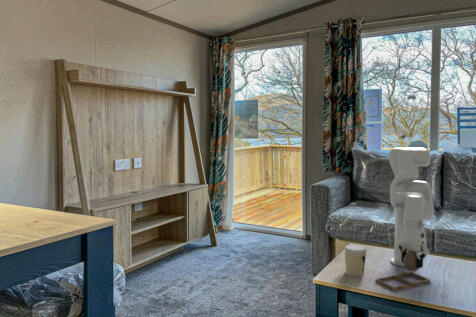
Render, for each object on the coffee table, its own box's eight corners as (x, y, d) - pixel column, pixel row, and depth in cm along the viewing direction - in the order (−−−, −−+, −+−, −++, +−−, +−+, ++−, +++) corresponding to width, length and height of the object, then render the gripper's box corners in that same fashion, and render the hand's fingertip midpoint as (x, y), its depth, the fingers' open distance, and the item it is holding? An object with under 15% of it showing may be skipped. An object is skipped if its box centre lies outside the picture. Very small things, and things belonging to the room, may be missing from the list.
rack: (405, 272, 175) (405, 269, 175) (430, 283, 164) (430, 279, 163) (370, 280, 166) (370, 276, 166) (394, 291, 155) (394, 288, 155)
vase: (419, 273, 160) (420, 253, 160) (401, 270, 164) (402, 250, 164) (421, 268, 166) (422, 248, 166) (404, 265, 170) (405, 246, 169)
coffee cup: (366, 278, 169) (367, 251, 168) (344, 276, 171) (345, 249, 170) (364, 270, 178) (364, 244, 177) (343, 268, 180) (343, 243, 179)
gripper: (437, 227, 158) (435, 270, 159) (403, 218, 173) (401, 257, 175) (424, 229, 155) (423, 272, 156) (390, 220, 170) (389, 260, 171)
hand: (411, 264), depth 165 cm, fingers closed on vase, 6 cm apart
